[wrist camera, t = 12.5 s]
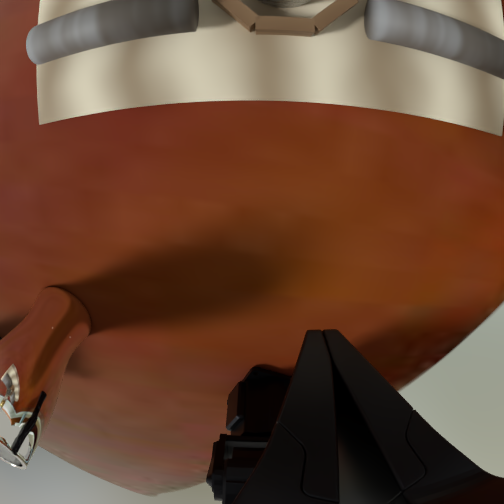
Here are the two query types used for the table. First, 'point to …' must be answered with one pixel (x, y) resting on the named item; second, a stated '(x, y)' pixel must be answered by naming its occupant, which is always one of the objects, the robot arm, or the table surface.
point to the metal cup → (284, 3)
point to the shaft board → (273, 55)
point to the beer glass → (36, 370)
